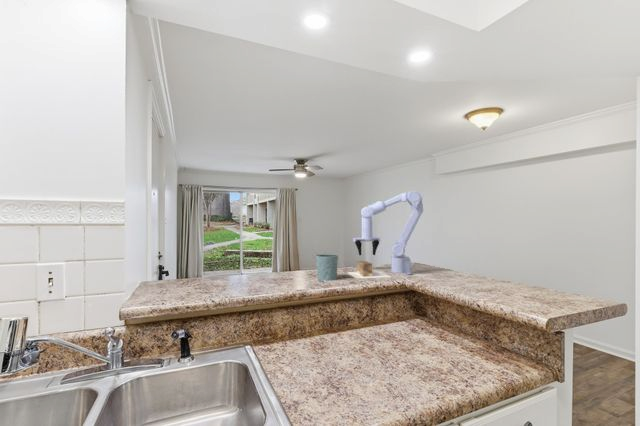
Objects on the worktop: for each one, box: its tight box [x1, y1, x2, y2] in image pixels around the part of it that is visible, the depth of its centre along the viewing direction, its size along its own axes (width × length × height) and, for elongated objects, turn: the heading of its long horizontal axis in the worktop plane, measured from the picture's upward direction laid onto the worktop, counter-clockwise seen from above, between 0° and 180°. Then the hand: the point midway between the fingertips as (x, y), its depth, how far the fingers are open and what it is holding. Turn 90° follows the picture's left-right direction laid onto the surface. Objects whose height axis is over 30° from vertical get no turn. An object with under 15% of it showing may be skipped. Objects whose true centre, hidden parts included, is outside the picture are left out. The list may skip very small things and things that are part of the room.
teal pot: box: [315, 253, 339, 284], centre depth 137 cm, size 10×10×12 cm
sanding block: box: [356, 260, 373, 277], centre depth 147 cm, size 4×10×6 cm, turn 9°
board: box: [346, 270, 392, 280], centre depth 146 cm, size 18×16×1 cm
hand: (367, 254), depth 159 cm, fingers open, 7 cm apart
